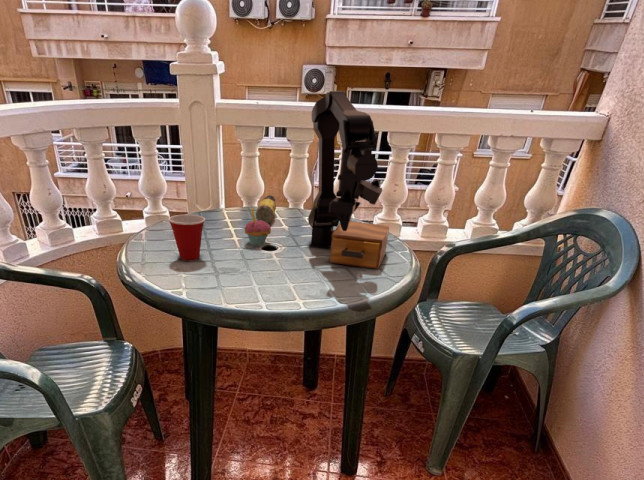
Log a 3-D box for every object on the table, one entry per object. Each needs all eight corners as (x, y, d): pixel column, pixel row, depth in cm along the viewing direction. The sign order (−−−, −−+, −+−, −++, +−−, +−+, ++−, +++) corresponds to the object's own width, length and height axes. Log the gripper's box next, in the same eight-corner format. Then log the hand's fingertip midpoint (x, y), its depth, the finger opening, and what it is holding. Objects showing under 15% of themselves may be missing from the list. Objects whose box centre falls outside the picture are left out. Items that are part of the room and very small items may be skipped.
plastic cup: (214, 254, 151) (212, 214, 144) (196, 266, 143) (192, 225, 136) (184, 248, 155) (181, 210, 148) (165, 260, 147) (160, 219, 140)
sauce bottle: (275, 211, 171) (281, 195, 186) (258, 204, 170) (266, 188, 186) (268, 228, 175) (274, 210, 190) (252, 221, 174) (259, 203, 189)
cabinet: (378, 269, 142) (382, 240, 137) (329, 262, 146) (332, 234, 141) (385, 253, 152) (389, 225, 147) (339, 247, 156) (342, 220, 151)
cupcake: (251, 249, 155) (251, 210, 147) (240, 241, 161) (239, 203, 153) (275, 245, 158) (276, 206, 151) (263, 237, 164) (263, 199, 157)
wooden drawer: (373, 273, 138) (376, 249, 133) (327, 266, 141) (329, 243, 137) (382, 252, 150) (386, 230, 146) (340, 247, 154) (342, 225, 150)
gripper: (376, 182, 117) (367, 246, 127) (388, 165, 131) (379, 223, 140) (331, 177, 120) (325, 240, 129) (347, 161, 134) (341, 219, 143)
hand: (344, 230), depth 136 cm, fingers closed
